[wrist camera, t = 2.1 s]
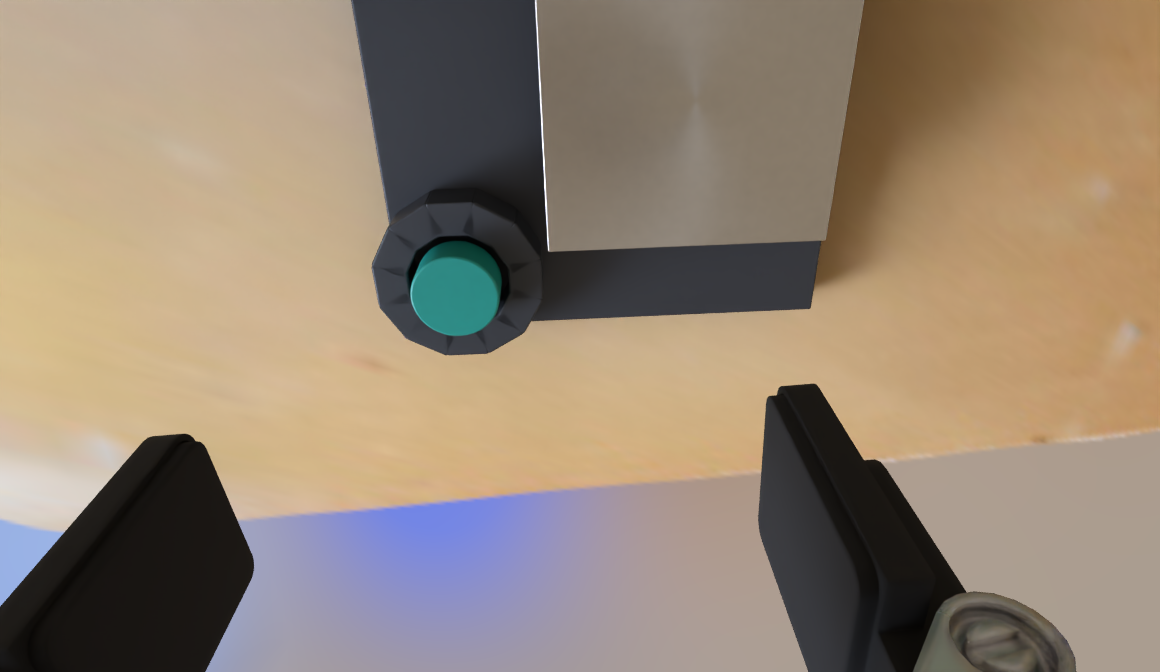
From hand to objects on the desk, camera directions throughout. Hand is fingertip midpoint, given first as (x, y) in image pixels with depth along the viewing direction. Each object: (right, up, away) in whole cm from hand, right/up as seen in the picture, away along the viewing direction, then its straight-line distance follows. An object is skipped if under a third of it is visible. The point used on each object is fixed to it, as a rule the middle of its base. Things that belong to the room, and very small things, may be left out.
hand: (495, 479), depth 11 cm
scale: (+2, +9, +13) cm, 17 cm away
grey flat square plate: (+5, +10, +10) cm, 15 cm away
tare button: (-3, +4, +13) cm, 14 cm away
